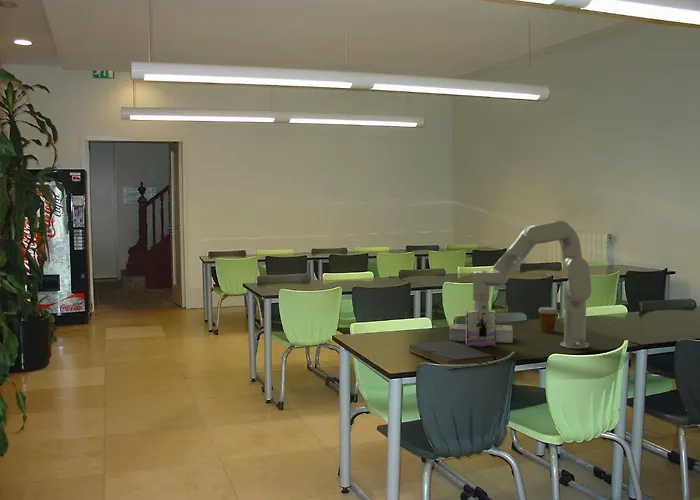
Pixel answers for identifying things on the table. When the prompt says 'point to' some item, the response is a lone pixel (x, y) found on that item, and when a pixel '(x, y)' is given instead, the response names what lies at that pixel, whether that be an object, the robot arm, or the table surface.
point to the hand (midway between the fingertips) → (480, 334)
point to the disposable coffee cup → (547, 318)
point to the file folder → (451, 352)
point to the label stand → (502, 333)
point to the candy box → (474, 326)
